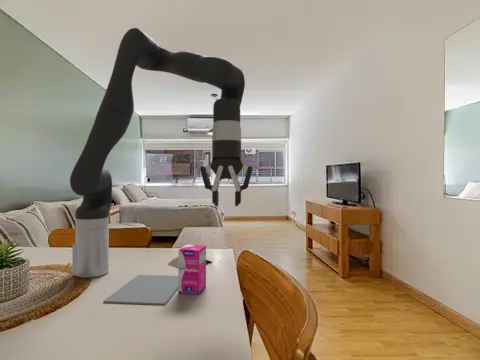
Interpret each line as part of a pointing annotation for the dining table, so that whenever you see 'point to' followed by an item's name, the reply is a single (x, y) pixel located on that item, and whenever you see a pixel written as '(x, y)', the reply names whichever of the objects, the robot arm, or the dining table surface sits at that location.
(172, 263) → the clay tablet
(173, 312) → the dining table surface
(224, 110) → the robot arm
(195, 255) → the supplement box
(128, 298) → the rubber mat
